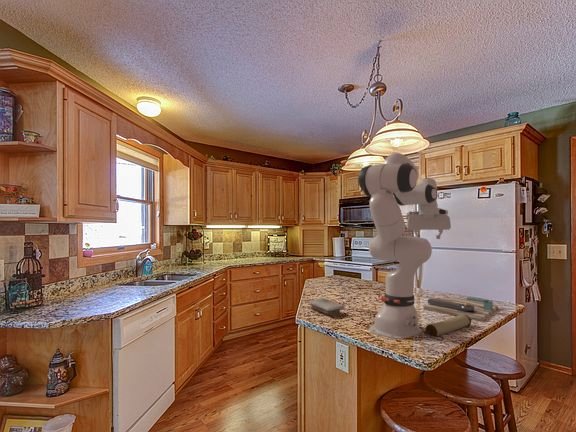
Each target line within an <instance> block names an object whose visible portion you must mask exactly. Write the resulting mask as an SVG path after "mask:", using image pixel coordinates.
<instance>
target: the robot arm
mask: <svg viewBox="0 0 576 432" xmlns="http://www.w3.org/2000/svg"><path fill="white" fill-rule="evenodd" d="M419 173H420V172H419V170H418V167H417V166H416V165H415V164H414V162H413V161H412V160H411V159H410V158H408V157H407V156H406V155H404V154H402V153H399V152H395V153H391V154H389V155H388V156H387V157H386V158H385V160H384V161H383V163H382V164H375V165H371V164H370V165H366V166H364V167H362V168H361V169H360V171H359V173H358V177H357V180H358V181H357V182H358V186H359V187H360V189H361V191H362V192H363V194H365V196H366V197H368V198H370V199H369V211H370V215H371V219H372V221H373V224H374V227H375V229H376V232H377V233H376V235H375V236H373V238H371V240H370V241H369V244H368V251H369V254H370V256H371V257H372V258H375V259H377V260H380V261H387V262H397V263H398V267H397V268H395V269H392V270H390V271H388V272H387V274H386V275H385V293H384V295H383V296H380V302H383V304H382V305H381V306H380V309H379V310H378V312H377V313H376V315H375V317H374V324H372V325H371V326H370V327H369V328H368V332H369V331H370V332H369V333H371V332H372V334H373V333H374V334H373V335H376V334H377V336H379V335H380V336H379V337H382V336H383V337H382V338H386V337H387V339H393V340H399V341H400V340H403V339H407V338H410V337H413V336H417V335H420V334H423V330H422V329H421V328H420V325H419V323H420V322H419V312H418V310H417V308H416V307H415V299H416V298H415V295H414V281H415V280H414V279H415V275H416V272H417V270H419V268H420V267H421V266H422V265H423V264H424V263H426V262H427V261H428V260H429V259H431V256H432V252H433V249H432V245H431V243H430V242H429V240H428V239H427V238H424V237H421V234H418V231H419V230H420V231H423V230H424V231H429V230H430V231H431V230H435V231H437V230H438V234H437V235H435V237H436V240H441V236H442V234H443V232H444V231H447V230H448V231H449V230H451V228H452V226H451V218H450V216H449V215H448V214H449V211H448V209H444V208H440V207H438V202H437V200H438V186H437V182H436V179H434V178H430V177H427V178H421V179H420V180H419V181H418V179H419ZM417 182H418V184H417ZM408 205H409V206H412V205H414V206H415V205H417V211H408V212H407V213H406V214H405V219H406V223H405V219H404V216H403V214H402V210H401V208H400V206H401V207H402V206H408ZM406 229H407V230H408V231H413V232H414V234H415V236H413V235H411V236H410V235H409V236H408V235H404V233H405V231H406Z"/></svg>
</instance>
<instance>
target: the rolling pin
mask: <svg viewBox="0 0 576 432" xmlns="http://www.w3.org/2000/svg"><path fill="white" fill-rule="evenodd" d="M470 325H472V319H470V318H469V317H468V316H467V315H459V316H453V317H451V318H448V319H445V320H441V321H438V322H434V323H432V322H431V323H427V324H426V327H425V330H423V334H424V335H429V336H431V337H438V336H443V335H445V334H448V333H452V332H454V331H457V330H459V329H462V328H465V327H470Z"/></svg>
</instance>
